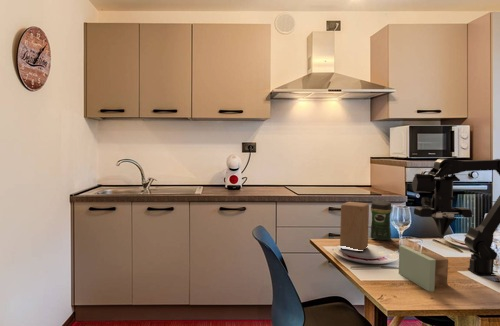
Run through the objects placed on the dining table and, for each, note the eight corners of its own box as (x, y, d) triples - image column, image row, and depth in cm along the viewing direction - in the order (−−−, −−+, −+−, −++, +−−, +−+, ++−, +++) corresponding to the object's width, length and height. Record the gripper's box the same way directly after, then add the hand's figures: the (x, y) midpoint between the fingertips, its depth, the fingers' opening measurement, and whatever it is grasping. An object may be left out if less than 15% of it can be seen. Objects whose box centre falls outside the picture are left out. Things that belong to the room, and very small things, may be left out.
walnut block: (430, 275, 125) (431, 252, 124) (447, 284, 117) (448, 259, 116) (410, 277, 123) (411, 253, 123) (425, 286, 115) (426, 260, 115)
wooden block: (362, 253, 149) (363, 206, 148) (339, 249, 154) (340, 204, 153) (368, 247, 157) (369, 203, 156) (346, 244, 163) (347, 201, 162)
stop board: (403, 272, 127) (404, 245, 126) (434, 291, 111) (435, 259, 111) (398, 273, 127) (399, 245, 126) (428, 291, 111) (429, 260, 110)
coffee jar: (391, 238, 174) (393, 200, 173) (389, 242, 167) (391, 203, 166) (371, 235, 179) (372, 199, 178) (368, 239, 172) (369, 201, 171)
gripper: (455, 190, 136) (453, 230, 137) (407, 189, 136) (406, 229, 137) (474, 194, 125) (472, 237, 126) (422, 193, 125) (420, 237, 126)
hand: (441, 235), depth 129 cm, fingers closed
